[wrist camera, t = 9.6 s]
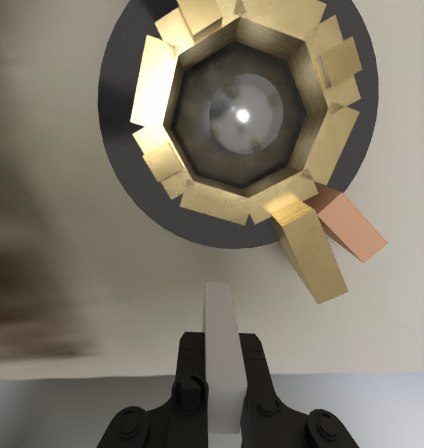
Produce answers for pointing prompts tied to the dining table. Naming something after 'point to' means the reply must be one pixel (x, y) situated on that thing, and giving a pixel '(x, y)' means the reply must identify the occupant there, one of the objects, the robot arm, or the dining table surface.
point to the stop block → (345, 223)
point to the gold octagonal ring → (307, 140)
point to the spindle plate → (197, 121)
